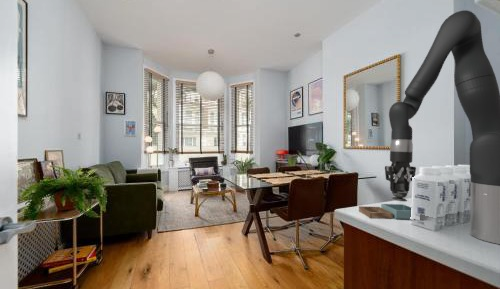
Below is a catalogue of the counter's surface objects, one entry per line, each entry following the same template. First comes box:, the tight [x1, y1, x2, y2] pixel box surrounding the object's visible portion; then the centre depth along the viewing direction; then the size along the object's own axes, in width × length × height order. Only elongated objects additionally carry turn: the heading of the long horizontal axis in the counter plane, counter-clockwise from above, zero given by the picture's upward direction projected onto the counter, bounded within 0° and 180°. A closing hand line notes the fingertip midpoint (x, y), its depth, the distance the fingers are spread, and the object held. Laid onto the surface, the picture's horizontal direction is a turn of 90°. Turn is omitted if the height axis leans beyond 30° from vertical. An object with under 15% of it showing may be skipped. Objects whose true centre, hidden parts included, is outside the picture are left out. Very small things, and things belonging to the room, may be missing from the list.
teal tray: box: [380, 203, 412, 221], centre depth 86 cm, size 10×10×4 cm
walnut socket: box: [358, 205, 394, 220], centre depth 86 cm, size 9×9×2 cm
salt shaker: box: [391, 174, 409, 202], centre depth 86 cm, size 6×6×12 cm
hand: (399, 191), depth 86 cm, fingers closed on salt shaker, 6 cm apart
